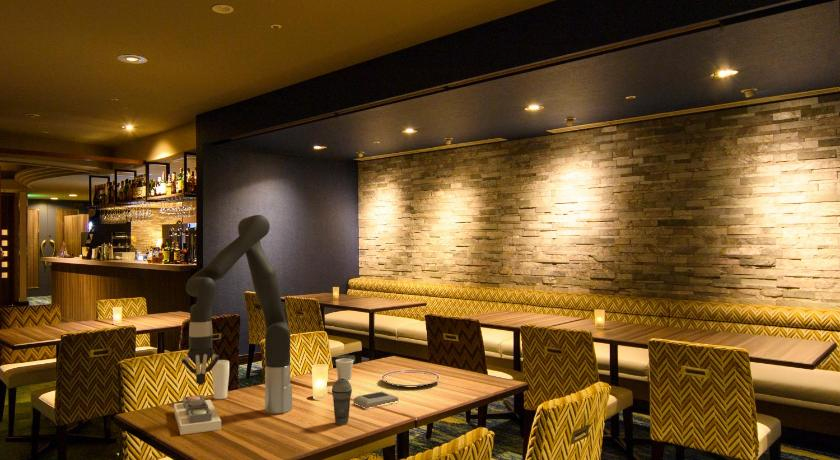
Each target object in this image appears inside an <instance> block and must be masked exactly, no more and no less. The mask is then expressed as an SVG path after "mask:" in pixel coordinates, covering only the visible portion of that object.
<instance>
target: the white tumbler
mask: <svg viewBox="0 0 840 460" xmlns="http://www.w3.org/2000/svg"><path fill="white" fill-rule="evenodd" d="M211 375H212V387H213V399H214V400H225V399H227V397H228V391H229V390H228V388H229V379H230V378H229V377H230V361H229V360H227V359H219V360H218V362H217V363H216V364H215V365H214V367H213V368H212V369H211Z"/></svg>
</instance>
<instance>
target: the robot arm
mask: <svg viewBox="0 0 840 460" xmlns="http://www.w3.org/2000/svg"><path fill="white" fill-rule="evenodd" d="M270 226H271V225H270V221H269V220H268V218H267V217H266V216H264V215H262V214H255V215H251V216H248V217H244V218H242V219H241V220H239V222H238V225H237V231H238V237H237V238H236V239H234V240H232V242H231V243H229V244H228V245H226V246H225V247H224V248H223V249H221V250H219V252H217V254H216V255H215V256H214V257H213V258H212V259H211V260H210V261H209V263H207V265H205V266H204V267H203V268H201V269H200V270H198V271H197V272H195V273H194V274H193V275H192V276H191V277H190V278H189V279H188V280H187V283H186V285H185V291H186V293H187V294H188V295H189V296H191V297H195V298H197V299H196V303H195V304H192V305H191V306H190V309H189V327H188V328H189V329H188V331H189V332H188V333H189V334H188V352H187V355H186V356H185V357H183V358H181V360H180V362H181V363H182V364H183V365H184V366H185V367H186V368H187V369H188V370H189V372H190V373H191V374H195V382H196V384H198V385H197V386H203V385H204V383H206V374H207V373H209V372H212V368H213V367H214V365H215V364H216V363H217V362H218V360H221V359H220V358H221V357H220V356H219V355H217V354H216V353H215V352H214V350H213V324H212V321H213V320H212V308H213V305H214V301H215V297H216V294H217V293H216V292H217V287H216V282H215V281H219V280H222V278H224V277H225V276H226V275H227V273H228V272H229V271H231V269H232V268H233V267H234V266H235V264H236V263H237V262H238V261H239V260H240V259H241V257H243V256H244V255H245V256H246V260H247V264H248V268H249V271H250V276H251V280H252V285H253V290H254V293H255V296H256V299H257V301H258V303H259V306H260V308H261V310H262V314H263V316H264V317H263V318H264V324H265V337H264V338H265V340H264V359H265V369H264V370H265V371H264V373H265V375H264V379H265V380H264V384H265V385H264V386H265V387H264V412H265V413H267V414H276V415H277V414H285V413H288V412H289V411H291V410H293V384H292V383H291V330H290V326H289V324H288V323H287V320H286V316H285V313H284V311H283V306H282V297H281V289H280V284H279V279H278V276H277V272H276V269H275V268H274V266H273V264H272V263H271V262H270V260H269V259H268V257H267V256H266V255H265V252H264V249H263V247H262V243H261V240H262V239H263V238H265V237H266V236H267V235H268V233H269V231H270ZM210 360H211V361H210ZM190 361H191V362H192V363H193V364H194V366H195V368H194V367H193V366H192V365H191V364H190ZM209 361H210V363H209ZM207 363H209V364H208V366H207Z"/></svg>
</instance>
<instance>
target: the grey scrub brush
mask: <svg viewBox="0 0 840 460" xmlns="http://www.w3.org/2000/svg"><path fill="white" fill-rule="evenodd" d="M395 401H398V402H399V397H398V396H395V395H392V394H390V393H387V392H385V391H378V392H372V393H367V394H361V395H357V396H356V397H354V398H353V404H354V403H356V404H358V405H360V406H363V407H365V408H369V407H373V406H377V405H381V404H385V403H390V402H395Z"/></svg>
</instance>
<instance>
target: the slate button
mask: <svg viewBox="0 0 840 460" xmlns="http://www.w3.org/2000/svg"><path fill="white" fill-rule="evenodd" d="M199 406H203V399H194V400H191V401H190V408H191V407H199Z"/></svg>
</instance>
